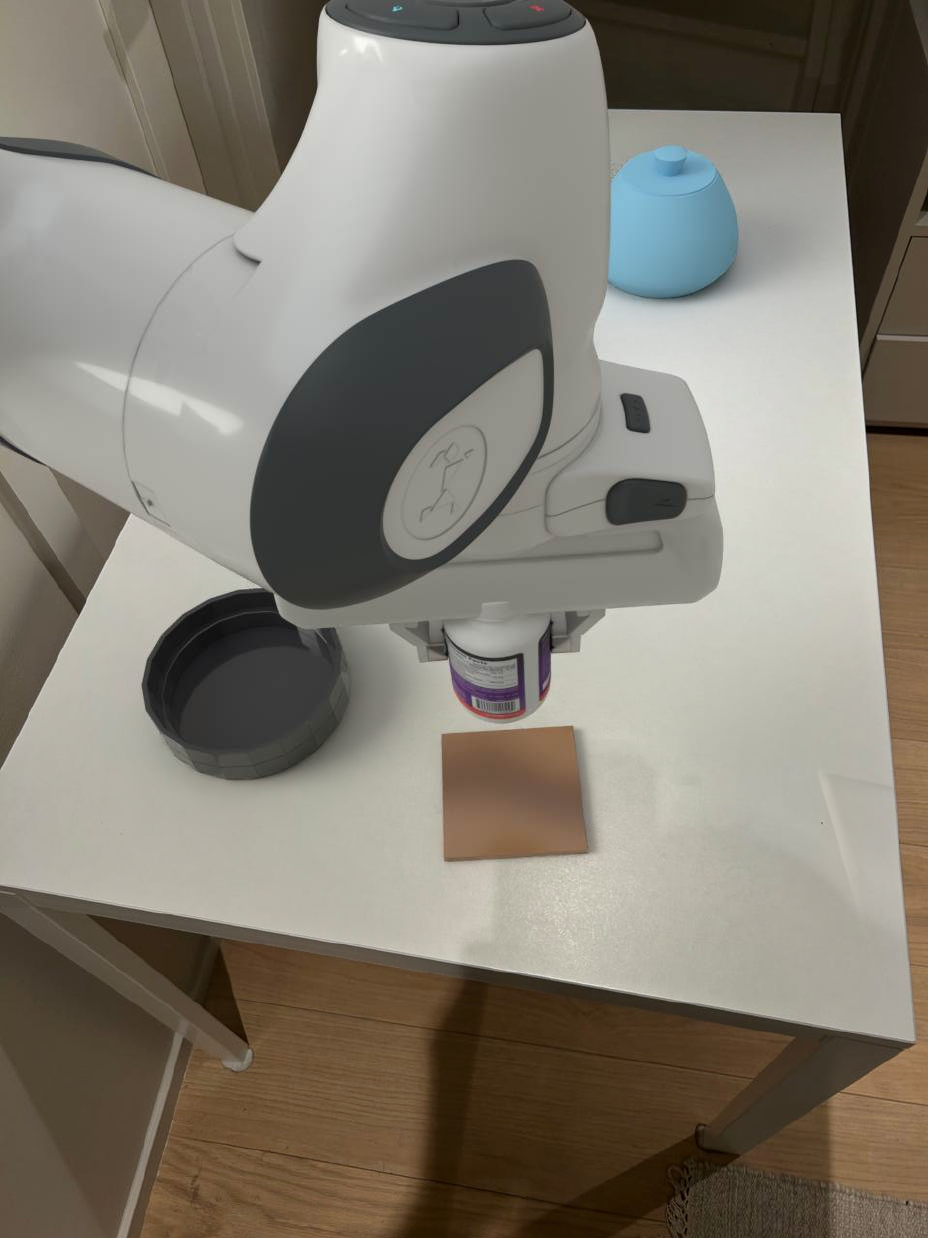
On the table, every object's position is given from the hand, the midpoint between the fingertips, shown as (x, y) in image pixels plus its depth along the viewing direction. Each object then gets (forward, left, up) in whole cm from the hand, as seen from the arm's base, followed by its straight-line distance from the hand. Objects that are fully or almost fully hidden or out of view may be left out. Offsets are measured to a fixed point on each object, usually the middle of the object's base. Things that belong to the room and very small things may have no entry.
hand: (499, 646), depth 48 cm
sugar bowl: (+59, -19, -17) cm, 64 cm away
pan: (+9, +18, -17) cm, 26 cm away
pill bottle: (0, 0, -4) cm, 4 cm away
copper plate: (0, 0, -17) cm, 17 cm away
